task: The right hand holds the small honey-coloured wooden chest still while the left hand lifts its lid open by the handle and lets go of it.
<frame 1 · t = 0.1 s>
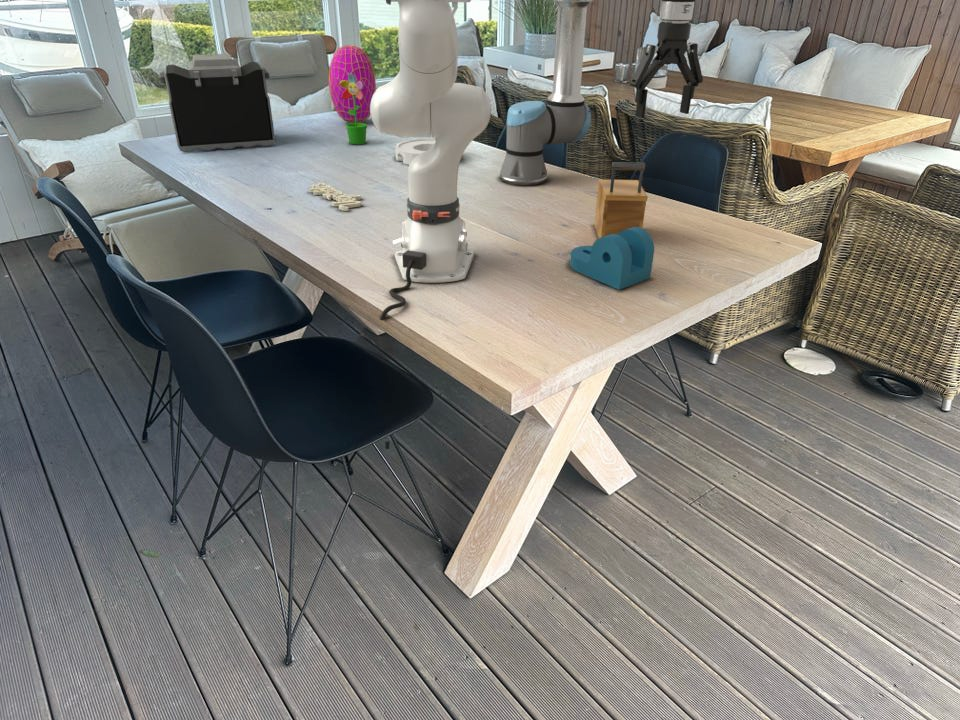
left hand: (430, 23, 166), 48 cm above the table, tool pointing down, fingers open, 8 cm apart
right hand: (662, 115, 174), 28 cm above the table, tool pointing down, fingers open, 13 cm apart
electronic device: (226, 143, 259), on the table
blue clevis bracket: (604, 271, 157), on the table
potted flower: (358, 143, 262), on the table
decorative egg: (355, 123, 293), on the table
decorative sign: (337, 197, 203), on the table
chest: (616, 234, 179), on the table
ashtray: (428, 158, 244), on the table
lid: (623, 175, 171), point 15 cm above the table, hinge at 0.0°
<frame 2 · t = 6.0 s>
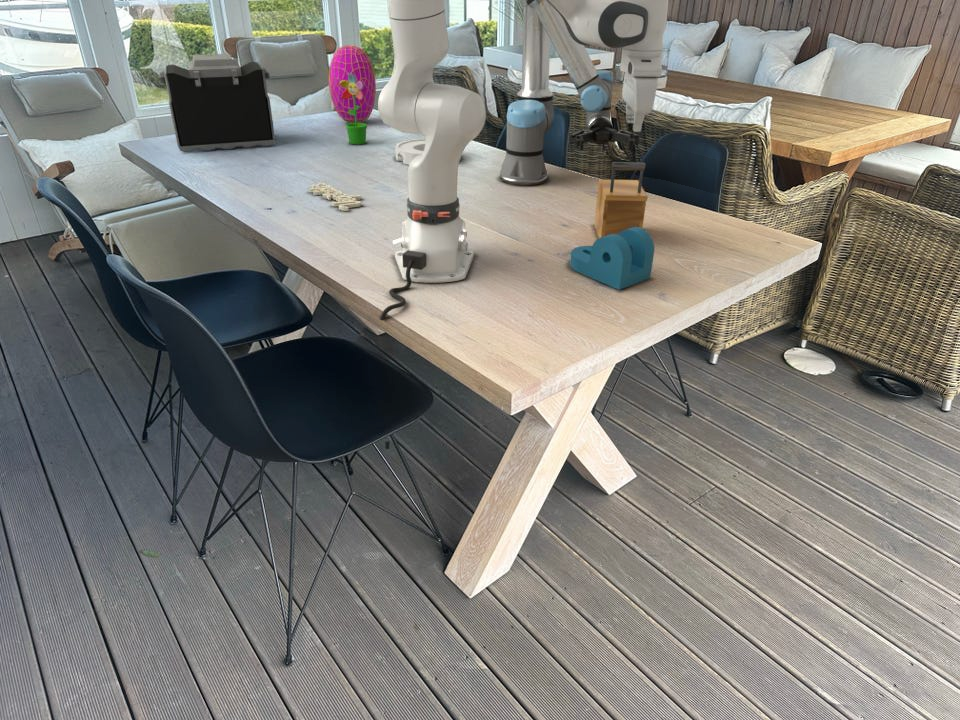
left hand: (633, 126, 161), 28 cm above the table, tool pointing down, fingers open, 8 cm apart
right hand: (606, 145, 193), 16 cm above the table, tool horizontal, fingers open, 13 cm apart
nothing on the table moved.
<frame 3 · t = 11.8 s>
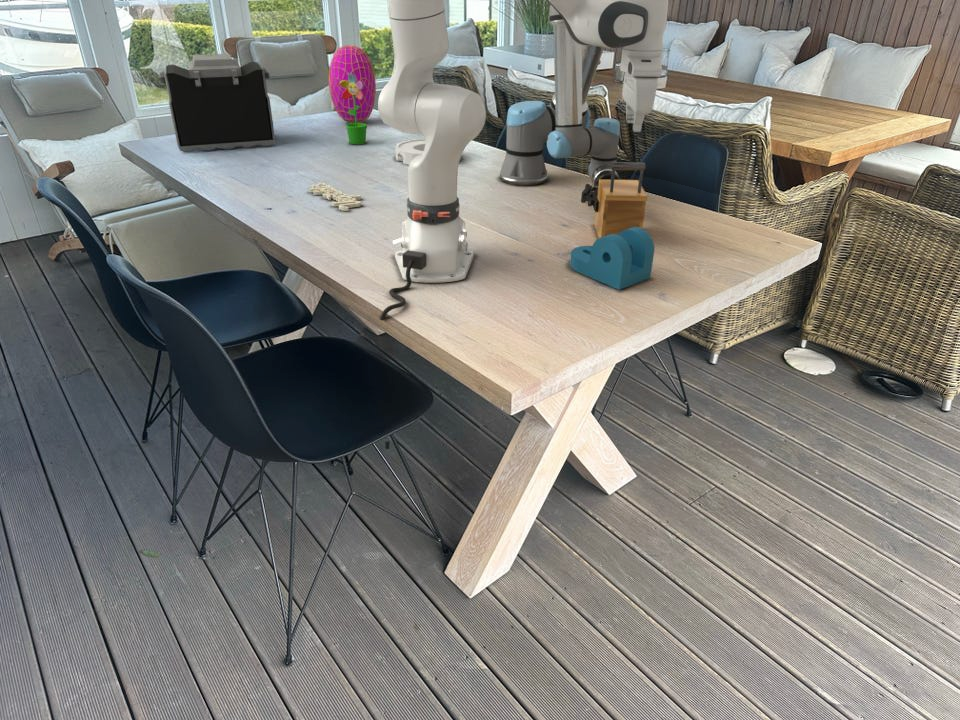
left hand: (633, 126, 161), 28 cm above the table, tool pointing down, fingers open, 8 cm apart
right hand: (618, 207, 178), 6 cm above the table, tool horizontal, fingers closed on chest, 10 cm apart
chest: (616, 234, 179), on the table, touching right hand
everything else where it was.
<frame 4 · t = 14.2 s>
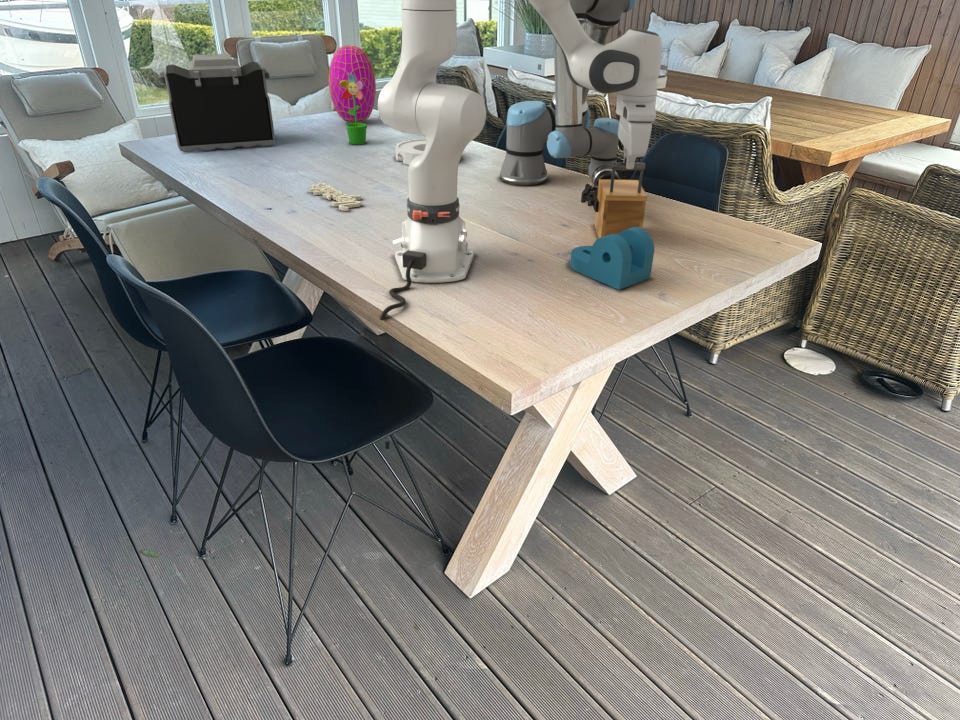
left hand: (628, 166, 165), 19 cm above the table, tool pointing down, fingers closed on lid, 2 cm apart
right hand: (618, 207, 178), 6 cm above the table, tool horizontal, fingers closed on chest, 10 cm apart
chest: (616, 234, 179), on the table, touching right hand
lid: (623, 175, 171), point 15 cm above the table, hinge at -0.1°, touching left hand
everything else where it was.
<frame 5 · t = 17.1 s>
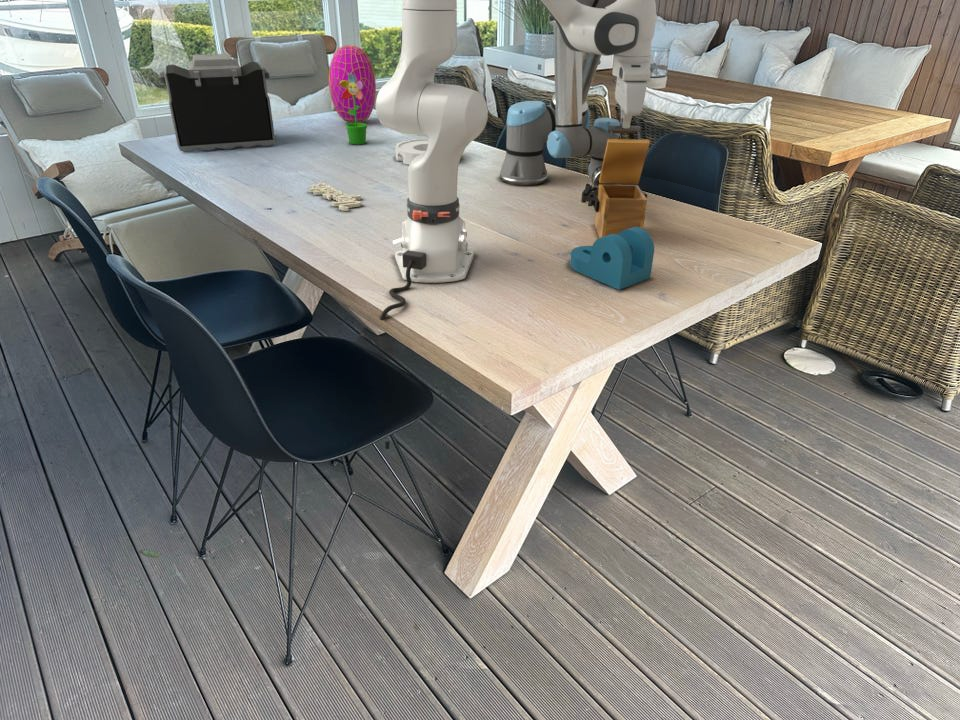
left hand: (625, 126, 172), 26 cm above the table, tool pointing down, fingers closed, pressing on lid
right hand: (618, 207, 178), 6 cm above the table, tool horizontal, fingers closed on chest, 10 cm apart
chest: (617, 233, 179), on the table, touching right hand
lid: (622, 151, 175), point 20 cm above the table, hinge at 60.5°, touching left hand
everything else where it was.
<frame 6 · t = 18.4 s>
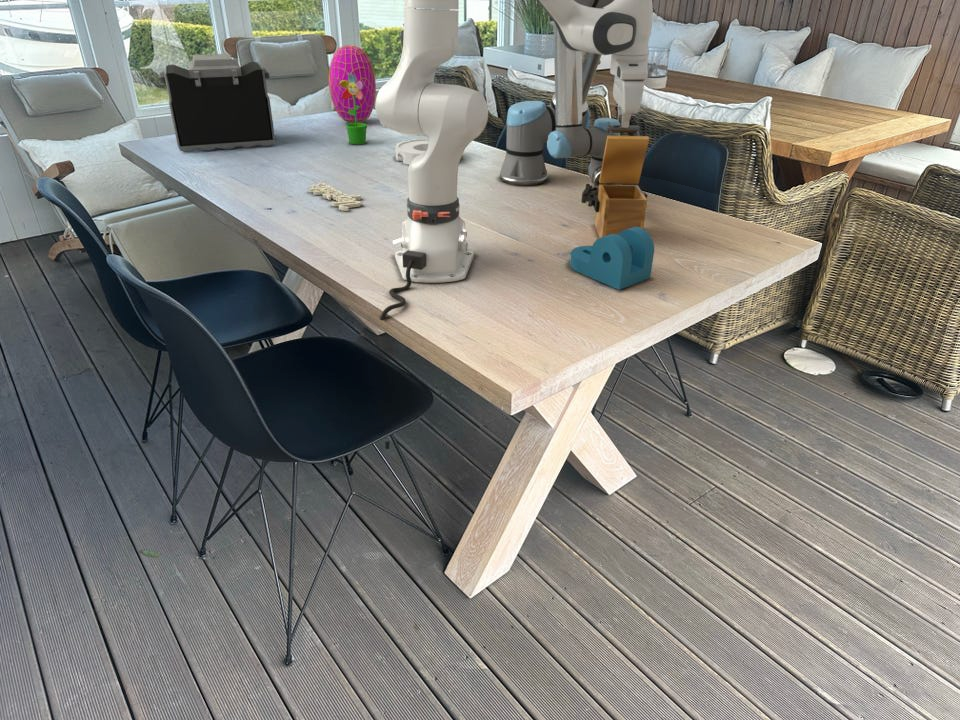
left hand: (623, 124, 175), 26 cm above the table, tool pointing down, fingers open, 4 cm apart
right hand: (618, 207, 178), 6 cm above the table, tool horizontal, fingers closed on chest, 10 cm apart
chest: (617, 234, 179), on the table, touching right hand
lid: (621, 151, 175), point 20 cm above the table, hinge at 66.5°, touching left hand
everything else where it was.
when the right hand's fingers open (6 cm above the table, at t = 22.2 s): chest stays where it is, on the table.
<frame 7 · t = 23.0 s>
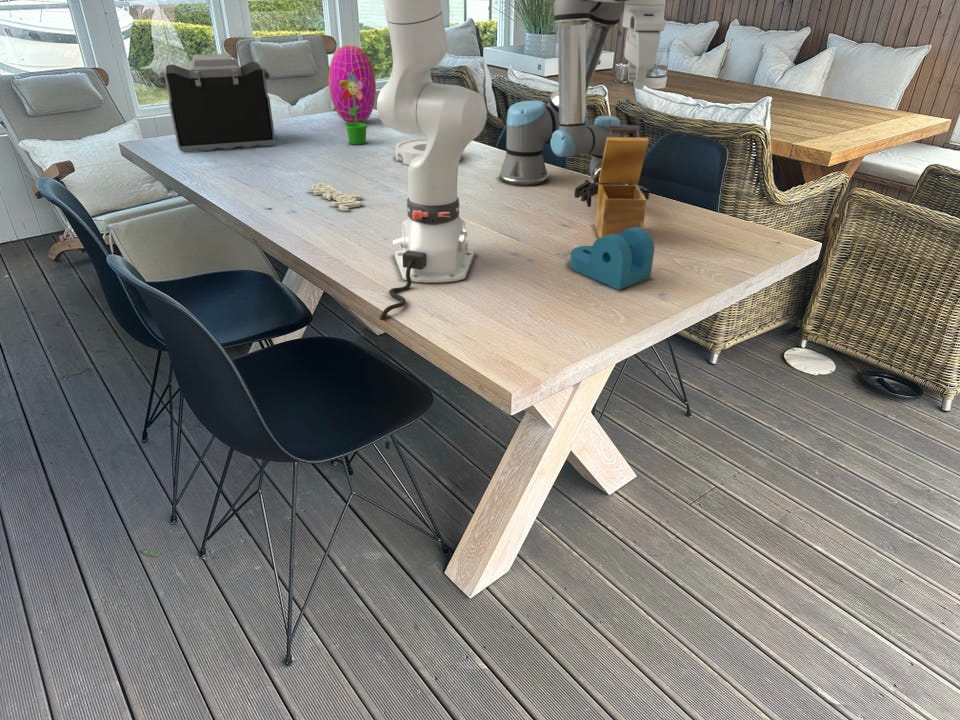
left hand: (635, 85, 159), 37 cm above the table, tool pointing down, fingers open, 8 cm apart
right hand: (615, 202, 181), 6 cm above the table, tool horizontal, fingers open, 13 cm apart
chest: (616, 234, 179), on the table
lid: (621, 151, 175), point 20 cm above the table, hinge at 63.9°
everything else where it was.
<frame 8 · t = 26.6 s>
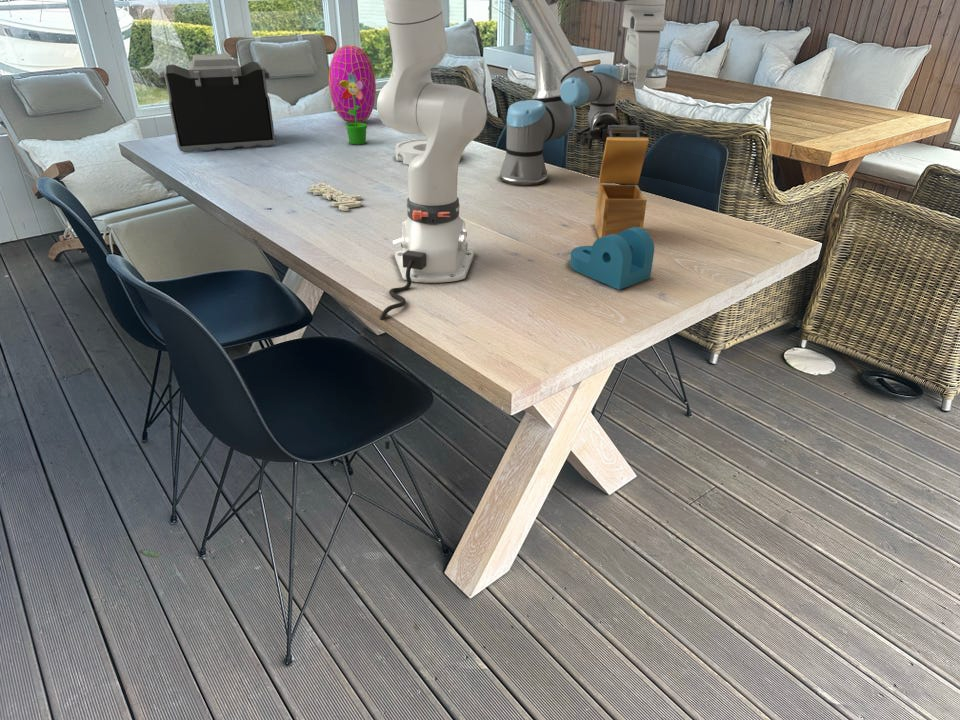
left hand: (635, 85, 159), 37 cm above the table, tool pointing down, fingers open, 8 cm apart
right hand: (616, 144, 183), 19 cm above the table, tool horizontal, fingers open, 13 cm apart
nothing on the table moved.
at the end: lid at +64° (first picture: +0°); the left hand is holding nothing; the right hand is holding nothing; chest tilted 0°; chest never tilted more than 1° during the clip; chest moved 0.1 cm from its start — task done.
